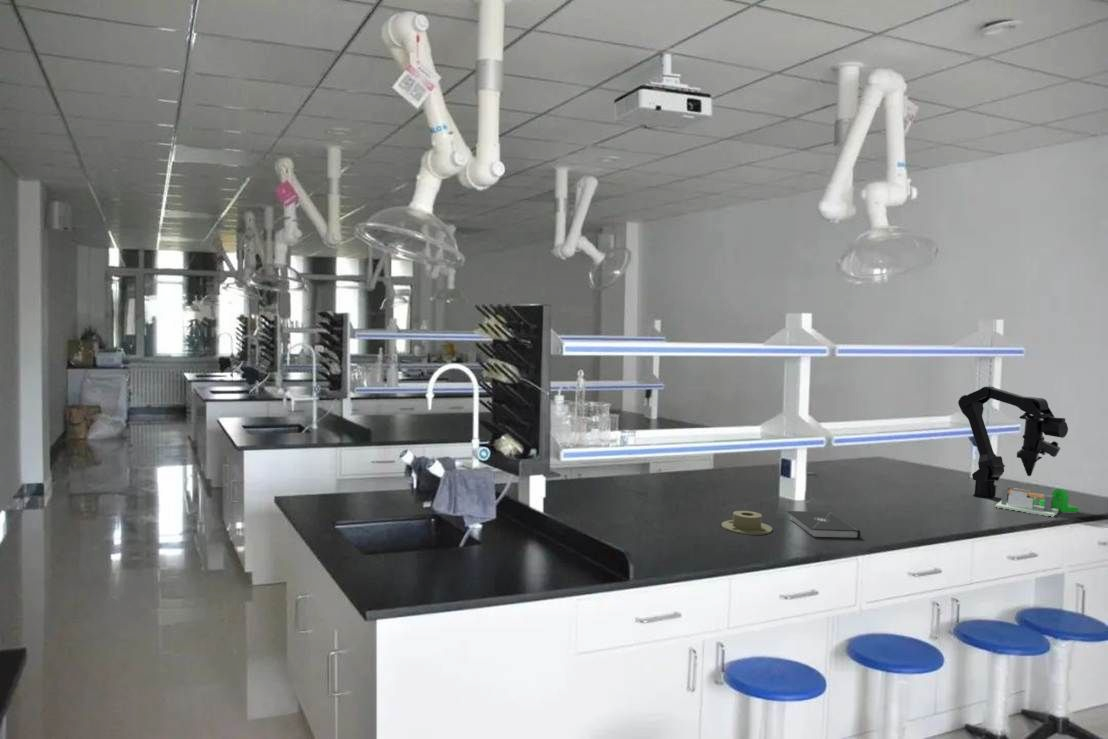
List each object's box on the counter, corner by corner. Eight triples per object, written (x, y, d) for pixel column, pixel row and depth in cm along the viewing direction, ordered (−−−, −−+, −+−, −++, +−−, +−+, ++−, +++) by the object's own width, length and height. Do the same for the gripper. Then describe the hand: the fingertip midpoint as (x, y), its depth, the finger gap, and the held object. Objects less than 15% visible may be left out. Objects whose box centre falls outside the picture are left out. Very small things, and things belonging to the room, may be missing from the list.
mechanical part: (1077, 513, 289) (1079, 491, 288) (1061, 513, 288) (1063, 490, 288) (1054, 505, 301) (1055, 483, 300) (1038, 505, 300) (1040, 483, 300)
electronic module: (1000, 504, 293) (1001, 489, 292) (1004, 501, 298) (1005, 486, 298) (1049, 512, 283) (1051, 496, 283) (1052, 509, 289) (1054, 493, 288)
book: (860, 540, 243) (861, 530, 243) (811, 539, 242) (812, 529, 242) (831, 521, 265) (832, 512, 264) (786, 519, 264) (787, 510, 264)
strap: (1003, 493, 294) (1003, 489, 294) (1004, 491, 296) (1005, 488, 296) (1043, 498, 286) (1044, 495, 286) (1045, 497, 288) (1045, 494, 288)
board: (995, 507, 292) (995, 505, 291) (1001, 502, 301) (1001, 499, 301) (1053, 517, 280) (1054, 514, 280) (1058, 511, 290) (1059, 508, 290)
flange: (742, 505, 260) (712, 512, 250) (782, 516, 249) (753, 523, 239) (741, 520, 260) (711, 527, 250) (782, 531, 249) (752, 538, 239)
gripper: (1055, 438, 282) (1050, 483, 283) (1063, 433, 296) (1059, 476, 298) (1018, 434, 289) (1014, 477, 290) (1028, 429, 303) (1024, 471, 305)
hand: (1029, 475), depth 296 cm, fingers closed
